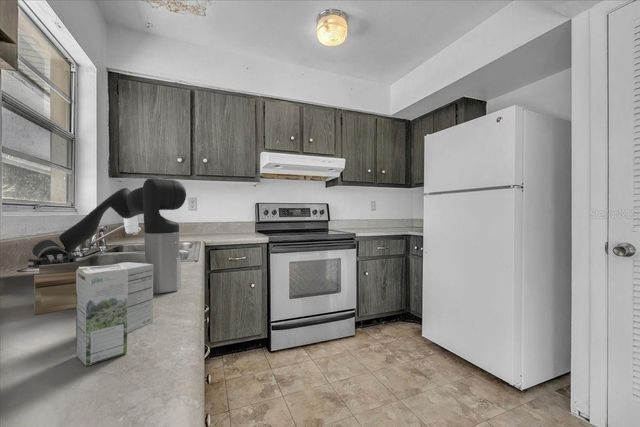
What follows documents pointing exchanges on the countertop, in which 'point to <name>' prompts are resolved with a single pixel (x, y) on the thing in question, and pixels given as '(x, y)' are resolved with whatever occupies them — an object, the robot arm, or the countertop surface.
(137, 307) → the supplement box
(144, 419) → the countertop surface
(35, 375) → the countertop surface
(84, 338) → the syrup box
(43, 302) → the box
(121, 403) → the countertop surface
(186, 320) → the countertop surface
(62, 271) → the brown wooden block
